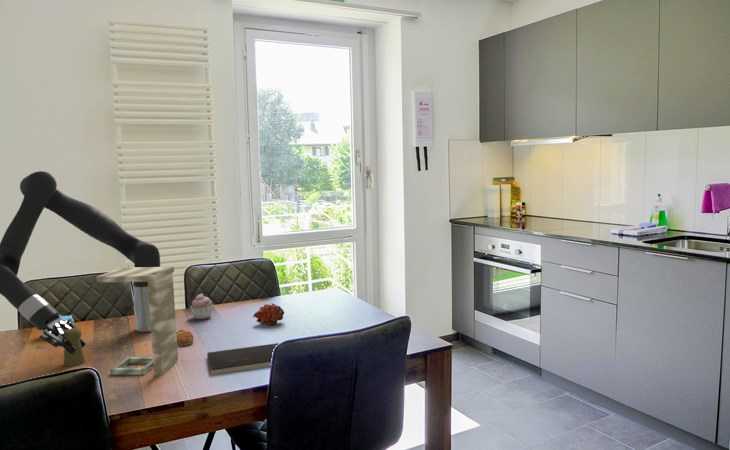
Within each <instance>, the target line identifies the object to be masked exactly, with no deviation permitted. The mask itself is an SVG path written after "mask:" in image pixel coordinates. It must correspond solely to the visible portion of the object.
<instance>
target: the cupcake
mask: <svg viewBox="0 0 730 450" xmlns="http://www.w3.org/2000/svg"><path fill="white" fill-rule="evenodd" d="M213 308H214V304H213V302H212V300H211V299H210V298H209V297H208V296H204V294H203V293H199V294H198V295H196V296H195V298H194V299H193V300H192V301H191V305H190V307H189V309H190V310H191V313H192V316H193V318H194V319H195V320H199V319H201V320H207V319H209V318H210V317H211V316H212V311H213V310H212V309H213ZM206 318H207V319H206Z"/></svg>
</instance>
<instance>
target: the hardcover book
mask: <svg viewBox="0 0 730 450" xmlns="http://www.w3.org/2000/svg"><path fill="white" fill-rule="evenodd" d="M278 344H280V343H279V342H277V343H269V344H262V345H256V346H255V345H253V346H249V347H248V346H247V347H239V348H232V349H224V350H217V351H210V352H209V351H208V352H207V357H206V358H207V360H208V365H209V368H210V372H211V375H216V374H222V373H230V372H236V371H238V372H239V371H243V370H244V371H245V370H250V369H257V368H264V367H271V366H270V364H271V358H272V352H273V349H274V348H275V346H276V345H278Z"/></svg>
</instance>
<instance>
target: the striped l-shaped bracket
mask: <svg viewBox="0 0 730 450" xmlns="http://www.w3.org/2000/svg"><path fill="white" fill-rule="evenodd" d="M174 272H175V267H174V266H160V267H135V266H134V267H119V268H116V269H114V270H111V271H108V272H106V273H102V274H100V275H97V276H96V283H131V282H132V283H133V282H148V293H149V308H150V322H151V331H150V336H151V347H152V348H151V349H152V350H151V351H152V356H127V357H125V359H123V360H121V361H120V362H119V363H117V364H116V365H115V366H113V367H112V368H111V369H110V375H113V376H114V375H115V376H118V375H119V376H122V375H123V376H126V375H130V376H132V375H133V376H134V375H136V376H137V375H140V376H141V375H142V376H143V375H144V376H145V375H147V374H148V373H149V372H150V371H151V370H152V369H153V376H155V377H159V376H161V377H162V376H163V375H164V374H165V373H167V372H169V370H170V369H171V368H173V366H174V365H175V364H177V363H178V362H179V351H178V345H177V334H176V332H177V322H176V306H175V305H176V304H175V292H174V291H175V289H174V274H173V273H174ZM130 364H145V365H144V366H143V367H127V366H129V365H130Z"/></svg>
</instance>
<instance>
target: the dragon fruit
mask: <svg viewBox="0 0 730 450" xmlns="http://www.w3.org/2000/svg"><path fill="white" fill-rule="evenodd" d="M284 314H285V311H284V309H283V308H282V307H281V306H280V305H277V304H275V303H270V304H267V303H266V304H264V305H263V306H260V308H259V309H258V310H257V311H256V312H255V313H253V316H252V318H256V322H257V323H259V324H264V323H265V324H264V325H266V324H267V326H270V325H272V324H273V325H276V324H277V323H278V321H282V320H283V319H284Z"/></svg>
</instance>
